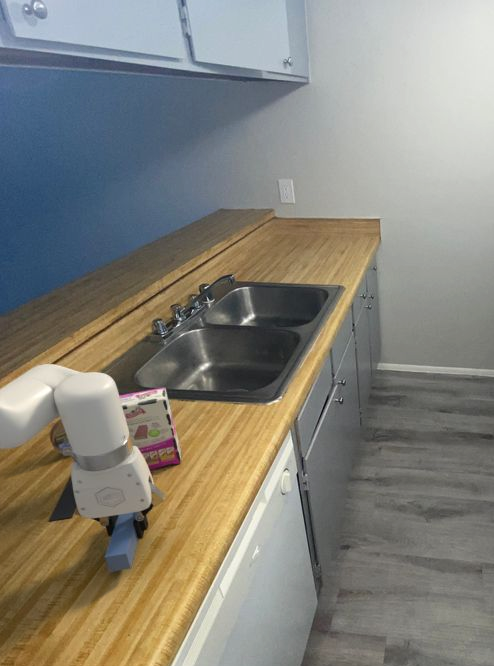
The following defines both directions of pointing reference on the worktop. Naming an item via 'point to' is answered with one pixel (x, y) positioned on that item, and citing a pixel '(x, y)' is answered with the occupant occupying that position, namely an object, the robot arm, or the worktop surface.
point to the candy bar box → (152, 427)
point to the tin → (59, 436)
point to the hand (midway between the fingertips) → (130, 533)
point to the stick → (122, 544)
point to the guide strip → (65, 504)
